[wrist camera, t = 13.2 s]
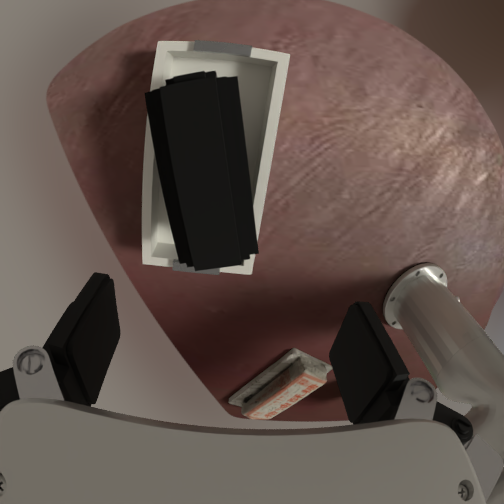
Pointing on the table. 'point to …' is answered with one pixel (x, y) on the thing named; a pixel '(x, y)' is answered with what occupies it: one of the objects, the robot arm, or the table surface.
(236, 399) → the packaged product
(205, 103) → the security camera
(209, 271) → the cradle
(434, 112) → the table surface
